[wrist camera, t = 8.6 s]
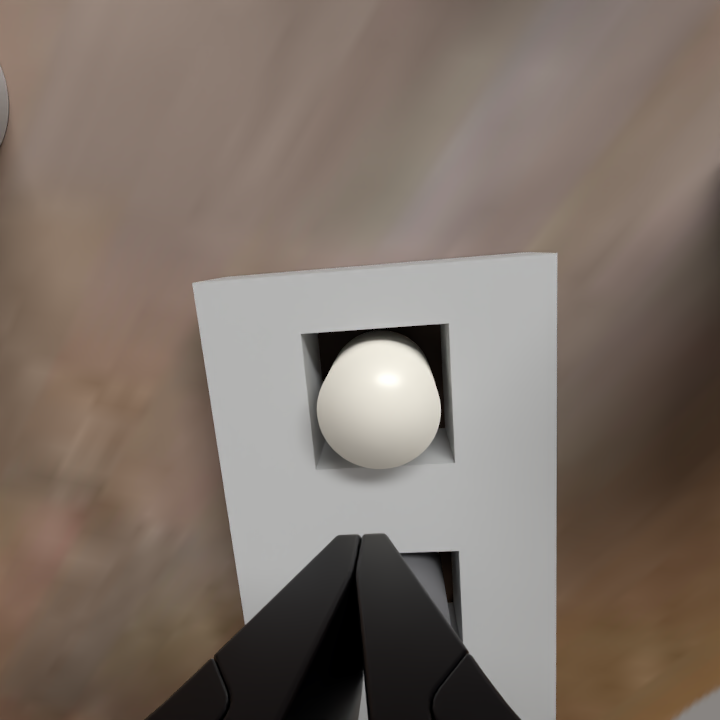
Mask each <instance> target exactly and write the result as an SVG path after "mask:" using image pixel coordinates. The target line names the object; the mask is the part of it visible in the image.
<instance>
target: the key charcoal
mask: <svg viewBox="0 0 720 720" xmlns="http://www.w3.org/2000/svg"><path fill="white" fill-rule="evenodd" d="M400 554H401V556H402V557H403V559H404V560H405V562H406V563H407V564H408V566H409V567H410V569H411V570H412V571H413V573H414V574H415V576H416V577H417V579H418V580H419V581H420V583H421V584H422V586H423V587H424V589H425V590H426V591H427V593H428V594H429V596H430V597H431V598H432V600H433V601H434V603H435V604H436V606H437V607H438V608H439V610H440V611H441V613H442V614H443V616H444V617H445V618H446V620H447V621H448V623H449V624H450V626H451V623H450V616H449V610H448V603H447V597H446V590H445V584H444V577H443V571H442V564H441V559H440V555H439V553H438V552H415V553H400Z"/></svg>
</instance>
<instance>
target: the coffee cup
mask: <svg viewBox="0 0 720 720" xmlns="http://www.w3.org/2000/svg"><path fill="white" fill-rule="evenodd" d="M8 113H9V101H8V92H7V86H6V81H5V78H4V74H3V71H2V68H1V66H0V145H1V143H2V140H3V138H4V135H5V132H6V127H7V122H8Z"/></svg>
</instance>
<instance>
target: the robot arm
mask: <svg viewBox="0 0 720 720" xmlns="http://www.w3.org/2000/svg"><path fill="white" fill-rule="evenodd" d="M363 678H364V683H365V693H366V704H367V714H368V720H521V719H520V718H519V716H518V715H517V714H516V713H515V712H514V711H513V710H512V708H511V707H510V706H509V705H508V704H507V703H506V701H505V700H504V699H503V697H502V696H501V695H500V693H499V692H498V691H497V689H496V688H495V687H494V685H493V684H492V683H491V681H490V680H489V679H488V678H487V676H486V675H485V673H484V672H483V671H482V669H481V668H480V666H479V665H478V663H477V662H476V661H475V659H474V658H473V656H472V655H470V654H469V651H468V650H467V648H466V647H465V645H464V644H463V643H462V641H461V640H460V638H459V637H458V635H457V634H456V633H455V631H454V630H453V628H452V627H451V626H450V624H449V623H448V621H447V620H446V618H445V617H444V616H443V614H442V613H441V611H440V610H439V608H438V607H437V606H436V604H435V603H434V601H433V600H432V598H431V597H430V596H429V594H428V593H427V591H426V590H425V589H424V587H423V586H422V584H421V583H420V581H419V580H418V579H417V577H416V576H415V574H414V573H413V571H412V570H411V569H410V567H409V566H408V564H407V563H406V562H405V560H404V559H403V557H402V556H401V554H400V553H399V552H398V550H397V549H396V547H395V546H394V544H393V543H392V542H391V540H390V539H389V537H388V536H387V535H386V534H384V533H373V534H364V535H363V536H362V538H361V536H360V535H358V534H347V535H337V536H336V537H335V538H334V539H333V540H332V541H331V542H330V543H329V544H328V545H327V546H326V547H325V548H324V549H323V550H322V551H320V552H319V553H318V554H317V555H316V556H315V557H314V558H313V559H312V560H311V561H310V562H309V563H308V564H307V565H306V566H305V567H304V568H303V569H302V570H301V571H300V572H299V573H298V574H297V575H296V576H295V577H294V578H293V579H292V580H291V581H290V582H289V583H288V584H287V585H286V586H285V587H284V588H283V589H282V590H281V591H280V592H278V593H277V594H276V595H275V596H274V597H273V598H272V599H271V600H270V601H269V602H268V603H267V604H266V605H265V606H264V607H263V608H262V609H261V610H260V611H259V612H258V613H257V614H256V615H255V616H254V617H253V618H252V619H251V620H250V621H249V622H248V623H247V624H246V625H245V626H244V627H243V628H242V629H241V630H240V631H239V632H238V633H236V634H235V635H234V636H233V637H232V638H231V639H230V640H229V641H228V642H227V643H226V644H225V645H224V646H223V647H222V648H221V649H220V650H219V651H218V652H217V653H216V654H215V655H214V659H210V660H209V661H208V662H206V663H205V664H204V665H203V666H202V667H201V668H200V669H199V670H198V671H197V672H196V673H195V674H194V675H193V676H192V677H191V678H190V679H189V680H188V681H187V682H186V683H185V684H184V685H182V686H181V687H180V688H179V689H178V690H177V691H176V692H175V693H174V694H173V695H172V696H171V697H170V698H168V699H167V700H166V701H165V702H164V703H163V704H162V705H161V706H160V707H159V708H157V709H156V710H155V711H154V712H153V713H152V714H150V715H149V716H148V717H147V718H146V719H145V720H358V718H359V711H360V704H361V697H362V688H363Z"/></svg>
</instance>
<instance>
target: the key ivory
mask: <svg viewBox="0 0 720 720" xmlns="http://www.w3.org/2000/svg"><path fill="white" fill-rule="evenodd" d="M440 417H441V405H440V398H439V395H438V391H437V388H436V385H435V381H434V378H433V375H432V372H431V368H430V365H429V362H428V360H427V358H426V356H425V354H424V352H423V351H422V350H421V349H420V347H419V346H418V345H417V344H416V343H415V342H413V341H412V340H411V339H409V338H408V337H406V336H404V335H402V334H399V333H397V332H393V331H387V330H376V331H370V332H366V333H363V334H361V335H358V336H357V337H355V338H353V339H352V340H350V341H349V342H348V343H347V344H346V345H345V346H344V347H343V348H342V349H341V351H340V352H339V354H338V356H337V357H336V359H335V361H334V363H333V365H332V367H331V369H330V371H329V373H328V375H327V377H326V379H325V381H324V383H323V384H322V387H321V389H320V392H319V396H318V400H317V418H318V423H319V426H320V429H321V432H322V434H323V436H324V438H325V439H326V441H327V442H328V444H329V445H330V446H331V447H332V449H333V450H334V451H335V452H336V453H338V454H339V455H340V456H341V457H343V458H344V459H346V460H347V461H349V462H351V463H353V464H356V465H358V466H362V467H365V468H371V469H388V468H394V467H398V466H401V465H404V464H406V463H408V462H410V461H412V460H413V459H415V458H416V457H418V456H419V455H420V454H421V453H422V452H424V451H425V450H426V448H427V447H428V446H429V445H430V443H431V442H432V440H433V439H434V437H435V435H436V433H437V430H438V427H439V424H440Z"/></svg>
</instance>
